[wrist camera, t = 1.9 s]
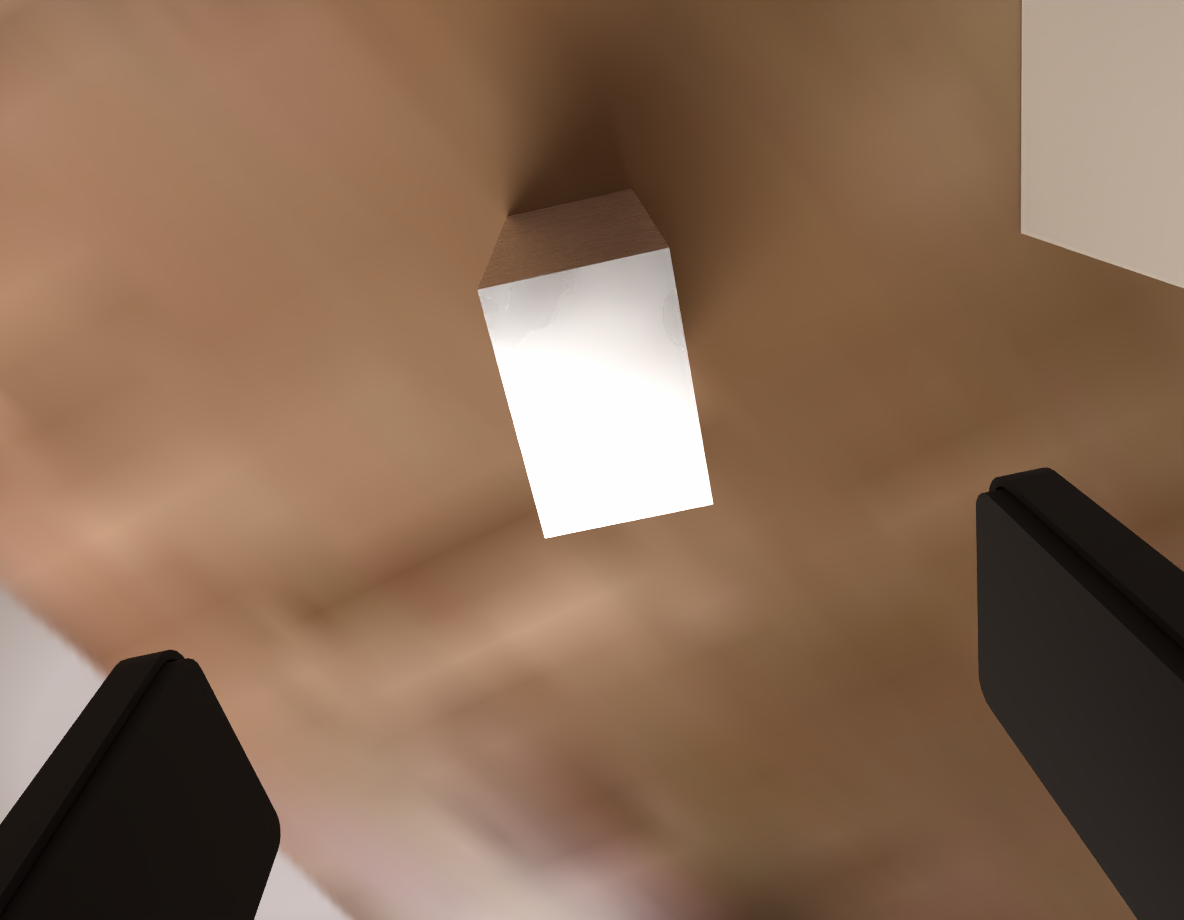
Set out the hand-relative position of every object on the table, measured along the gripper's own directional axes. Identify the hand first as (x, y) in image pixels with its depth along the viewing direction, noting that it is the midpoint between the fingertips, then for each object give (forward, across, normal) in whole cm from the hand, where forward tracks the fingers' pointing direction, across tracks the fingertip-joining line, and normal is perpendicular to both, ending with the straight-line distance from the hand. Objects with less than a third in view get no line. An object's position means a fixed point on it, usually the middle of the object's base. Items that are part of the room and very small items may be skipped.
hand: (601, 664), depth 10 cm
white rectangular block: (+19, -1, 0) cm, 19 cm away
